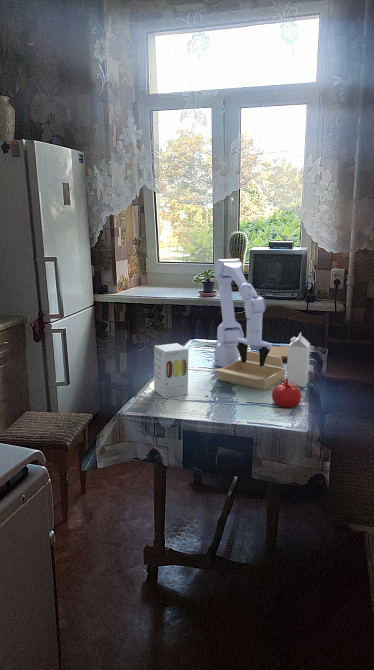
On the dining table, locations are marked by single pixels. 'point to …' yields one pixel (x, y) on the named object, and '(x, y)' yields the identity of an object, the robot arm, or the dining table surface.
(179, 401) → the dining table surface
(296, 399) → the pomegranate
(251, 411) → the dining table surface
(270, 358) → the back flap
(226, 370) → the front flap
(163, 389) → the supplement box
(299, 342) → the milk carton
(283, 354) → the wood log slice
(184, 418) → the dining table surface
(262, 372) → the carton
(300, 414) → the dining table surface
